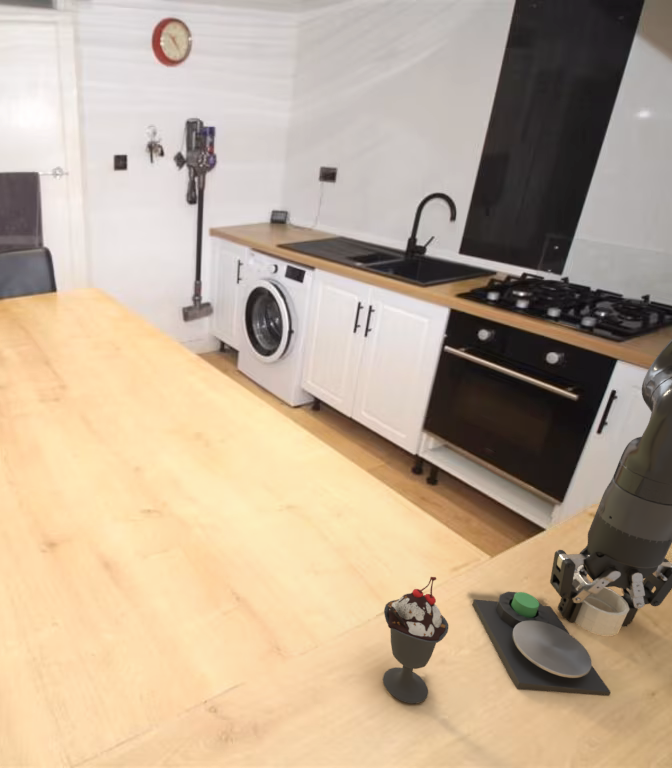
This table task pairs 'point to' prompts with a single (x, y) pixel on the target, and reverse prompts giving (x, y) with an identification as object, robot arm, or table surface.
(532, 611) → the tare button
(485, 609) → the scale
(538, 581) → the table surface
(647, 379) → the robot arm
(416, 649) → the sundae
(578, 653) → the scale pan
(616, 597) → the bowl
